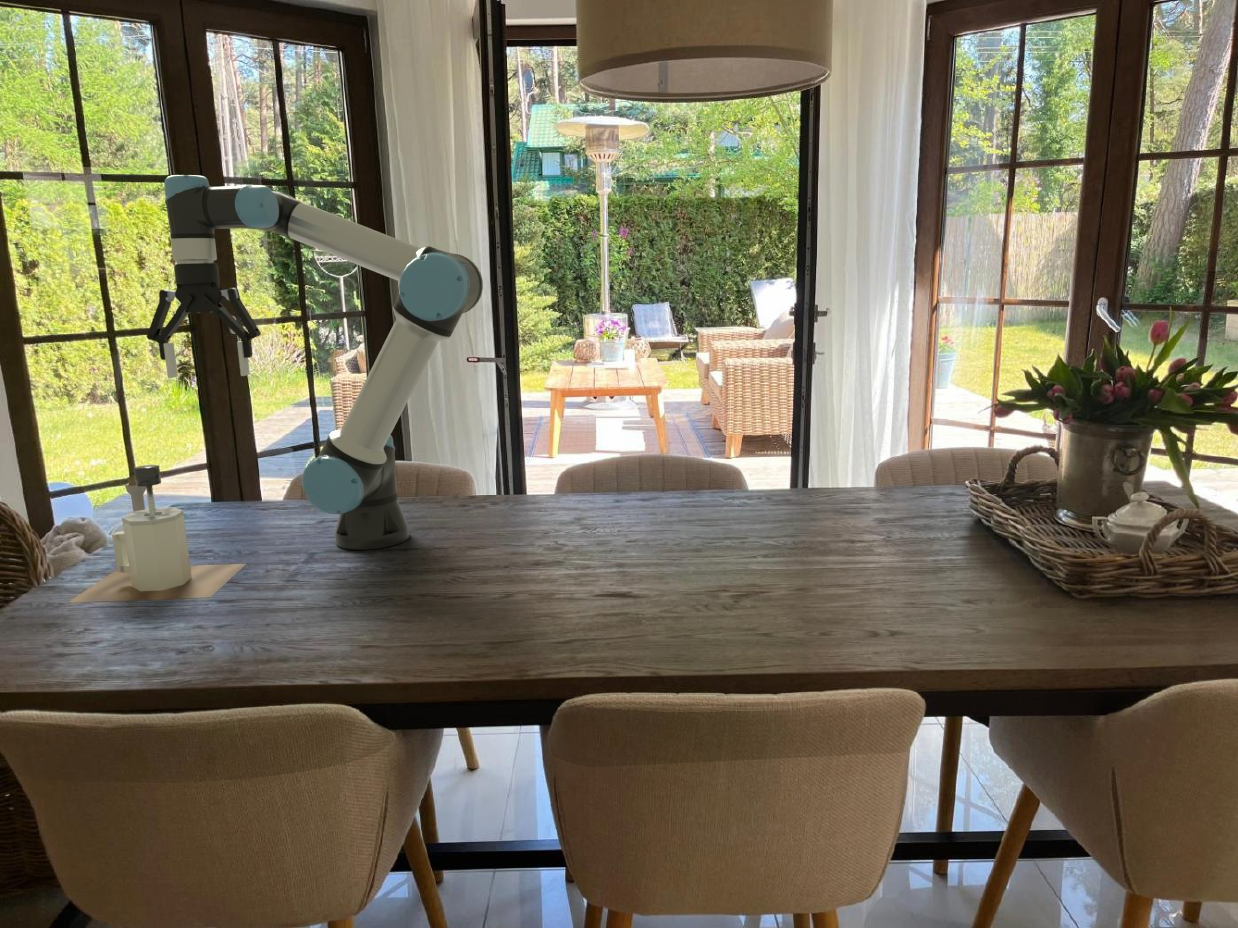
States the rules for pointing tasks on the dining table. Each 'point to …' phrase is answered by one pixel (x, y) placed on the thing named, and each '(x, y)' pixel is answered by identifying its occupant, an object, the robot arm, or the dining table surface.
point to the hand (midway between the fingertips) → (209, 376)
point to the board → (199, 586)
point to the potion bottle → (136, 494)
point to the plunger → (148, 482)
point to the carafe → (153, 549)
